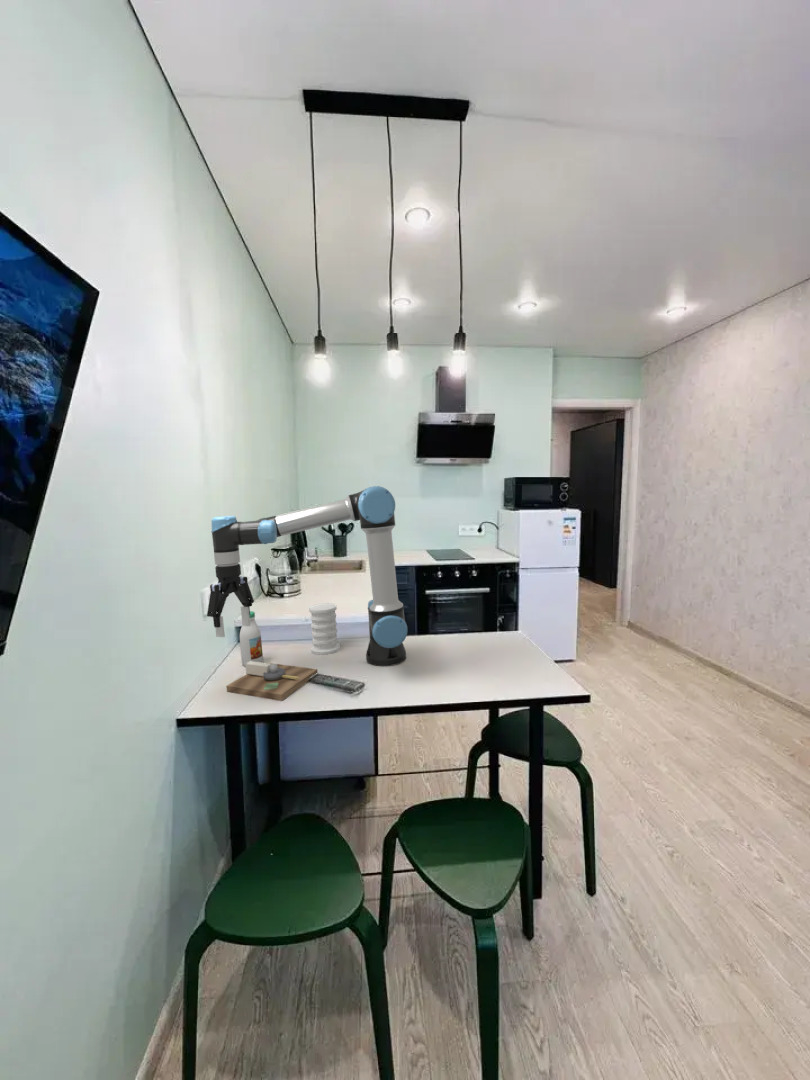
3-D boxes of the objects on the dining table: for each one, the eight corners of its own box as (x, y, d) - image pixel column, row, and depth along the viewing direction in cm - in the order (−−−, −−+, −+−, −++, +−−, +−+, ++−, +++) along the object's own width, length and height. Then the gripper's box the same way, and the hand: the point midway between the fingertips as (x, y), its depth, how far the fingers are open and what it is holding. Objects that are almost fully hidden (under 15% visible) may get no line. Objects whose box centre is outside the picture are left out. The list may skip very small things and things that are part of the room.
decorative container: (337, 654, 172) (334, 610, 170) (308, 655, 172) (305, 611, 170) (342, 644, 183) (339, 602, 181) (314, 645, 183) (311, 603, 181)
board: (317, 674, 153) (317, 668, 153) (281, 700, 135) (281, 694, 135) (267, 667, 162) (266, 662, 161) (226, 691, 143) (226, 685, 143)
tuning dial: (304, 675, 147) (303, 664, 147) (291, 683, 141) (290, 672, 141) (255, 668, 155) (254, 658, 155) (241, 676, 149) (240, 665, 148)
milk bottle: (243, 669, 161) (238, 616, 159) (240, 662, 168) (236, 611, 166) (264, 664, 165) (260, 613, 163) (261, 658, 172) (257, 608, 169)
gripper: (244, 558, 152) (249, 619, 154) (189, 570, 130) (196, 641, 133) (261, 558, 149) (266, 621, 151) (208, 571, 128) (215, 644, 130)
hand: (233, 630), depth 142 cm, fingers open, 11 cm apart
